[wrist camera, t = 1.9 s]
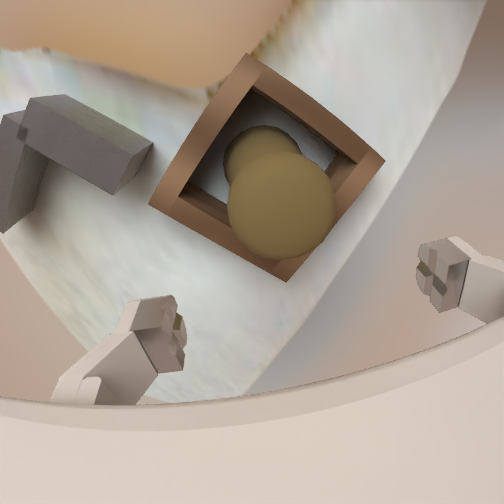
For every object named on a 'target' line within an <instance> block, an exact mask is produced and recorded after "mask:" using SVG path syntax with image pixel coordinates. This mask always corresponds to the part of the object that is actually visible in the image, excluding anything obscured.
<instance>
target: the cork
mask: <svg viewBox="0 0 504 504" xmlns="http://www.w3.org/2000/svg"><path fill="white" fill-rule="evenodd" d="M223 166H224V172H225V176H226V178H227V181H228V183H229V185H230V191H229V197H228V202H227V211H228V217H229V222H230V225H231V227H232V229H233V230H234V232H235V234H236V236H237V238H238V239H239V240H240V242H241V243H243V244H244V245H245V246H246V247H247V248H248V249H249V250H250V251H252V252H254V253H256V254H258V255H260V256H263V257H265V258H271V259H278V260H285V259H291V258H298V257H300V256H302V255H304V254H307V253H309V252H311V251H312V250H313V249H314V248H316V247H317V246H318V245H319V244H321V243H322V242H323V241H324V239H325V238H326V236H327V235H328V233H329V232H330V230H331V229H332V226H333V223H334V220H335V217H336V195H335V192H334V189H333V186H332V184H331V181H330V179H329V177H328V176H327V175H326V174H325V173H324V171H323V170H322V169H321V168H320V167H319V166H318V165H317V164H316V163H314V162H312V161H311V160H309V159H307V158H306V157H304V156H302V154H301V152H300V149H299V147H298V145H297V143H296V142H295V141H294V139H293V138H292V137H291V136H290V135H289V134H288V133H286V132H284V131H282V130H281V129H279V128H276V127H271V126H266V125H263V126H255V127H251V128H249V129H246V130H244V131H242V132H240V133H239V134H238V135H237V136H236V137H235V138H234V139H233V140H232V141H231V142H230V144H229V146H228V148H227V150H226V152H225V157H224V162H223Z"/></svg>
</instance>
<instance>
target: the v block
mask: <svg viewBox="0 0 504 504" xmlns="http://www.w3.org/2000/svg"><path fill="white" fill-rule="evenodd" d="M152 143H153V142H151V141H149V140H147V139H146V138H144V137H142V136H140V135H139V134H137V133H135V132H133V131H132V130H130V129H128V128H126V127H124V126H123V125H121V124H119V123H117V122H115V121H114V120H112V119H110V118H108V117H106V116H104V115H103V114H101V113H99V112H97V111H95V110H93V109H91V108H90V107H88V106H86V105H84V104H82V103H80V102H78V101H76V100H74V99H73V98H71V97H69V96H67V95H65V94H64V95H53V96H43V97H35V98H30V100H29V102H28V105H27V107H26V110H24V111H19V112H14V113H9V114H5V115H3V118H2V121H1V124H0V232H2V233H5V232H6V231H7V230H8V229H9V228H11V227H12V226H13V225H14V224H16V223H17V222H18V221H19V220H21V219H22V218H23V217H24V216H26V215H27V214H28V213H30V212H31V211H32V210H33V207H34V204H35V200H36V197H37V193H38V190H39V186H40V183H41V180H42V177H43V174H44V171H45V168H46V165H47V162H48V159H49V158H50V159H52V160H54V161H55V162H57V163H59V164H60V165H62V166H64V167H65V168H67V169H69V170H70V171H72V172H74V173H75V174H77V175H79V176H80V177H82V178H84V179H85V180H87V181H89V182H91V183H92V184H94V185H96V186H97V187H99V188H101V189H103V190H104V191H106V192H108V193H109V194H111V195H114V194H115V193H116V192H117V191H119V190H120V189H121V188H122V187H123V186H124V185H125V184H126V183H127V182H128V181H129V180H130V179H132V178H133V177H134V176H135V175H136V173H137V171H138V169H139V167H140V165H141V163H142V161H143V160H144V158H145V156H146V154H147V152H148V151H149V149H150V147H151V145H152Z"/></svg>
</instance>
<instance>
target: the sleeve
mask: <svg viewBox="0 0 504 504" xmlns="http://www.w3.org/2000/svg"><path fill="white" fill-rule="evenodd" d="M250 88H251V89H252V90H254V91H255V92H257V93H258V94H260V95H261V96H263V97H264V98H266V99H267V100H269V101H270V102H272V103H273V104H275V105H276V106H277V107H279V108H280V109H282V110H283V111H285V112H286V113H287V114H289V115H290V116H292V117H293V118H294V119H296V120H297V121H299V122H300V123H301V124H303V125H304V126H305V127H307V128H308V129H309V130H311V131H312V132H313V133H315V134H316V135H317V136H318V137H320V138H321V139H322V140H324V141H325V142H326V143H327V144H329V145H330V146H331V147H332V148H334V149H335V150H336V151H337V152H339V153H338V155H337V156H336V157H335V158H334V160H333V161H332V162H331V164H330V165H329V166H328V167H327V169H326V170H325V171H324V173H325V174H326V175H327V176H328V177H329V179H330V181H331V184H332V186H333V189H334V192H335V195H336V217H335V220H334V223H333V226H334V225H335V224H336V223H337V222H338V220H339V219H340V218H341V217H342V215H343V214H344V213H345V212H346V211H347V209H348V208H349V207H350V206H351V204H352V203H353V202H354V201H355V199H356V198H357V197H358V196H359V194H360V193H361V192H362V191H363V189H364V188H365V187H366V185H367V184H368V183H369V182H370V180H371V179H372V178H373V177H374V175H375V174H376V173H377V171H378V170H379V169H380V168H381V166H382V165H383V164H384V162H385V160H384V159H383V158H382V157H381V156H380V155H379V154H378V153H377V152H376V151H375V150H374V149H373V148H371V147H370V146H369V145H368V144H367V143H366V142H365V141H364V140H363V139H361V138H360V137H359V136H358V135H357V134H356V133H355V132H353V131H352V130H351V129H350V128H349V127H348V126H346V125H345V124H344V123H343V122H342V121H340V120H339V119H338V118H337V117H336V116H334V115H333V114H332V113H331V112H329V111H328V110H327V109H326V108H324V107H323V106H322V105H321V104H319V103H318V102H317V101H315V100H314V99H313V98H311V97H310V96H309V95H307V94H306V93H305V92H303V91H302V90H301V89H299V88H298V87H297V86H295V85H294V84H292V83H291V82H290V81H288V80H287V79H285V78H284V77H282V76H281V75H279V74H278V73H277V72H275V71H274V70H272V69H271V68H269V67H268V66H266V65H264V64H263V63H261V62H260V61H258V60H257V59H255V58H254V57H252V56H250V55H249V54H247V53H246V54H245V55H244V56H243V57H242V59H241V60H240V61H239V63H238V64H237V65H236V67H235V68H234V69H233V71H232V72H231V73H230V75H229V76H228V77H227V79H226V80H225V82H224V83H223V84H222V86H221V87H220V89H219V90H218V91H217V93H216V94H215V96H214V97H213V98H212V100H211V101H210V103H209V104H208V106H207V107H206V109H205V110H204V112H203V113H202V115H201V116H200V118H199V119H198V121H197V122H196V124H195V125H194V127H193V128H192V130H191V131H190V133H189V135H188V136H187V138H186V139H185V141H184V143H183V144H182V146H181V147H180V149H179V151H178V152H177V154H176V156H175V157H174V159H173V161H172V162H171V164H170V166H169V167H168V169H167V171H166V172H165V174H164V176H163V178H162V179H161V181H160V183H159V185H158V186H157V188H156V190H155V192H154V194H153V195H152V197H151V199H150V201H149V203H148V204H149V205H150V206H152V207H154V208H156V209H157V210H159V211H161V212H163V213H164V214H166V215H168V216H170V217H171V218H173V219H175V220H177V221H178V222H180V223H182V224H184V225H185V226H187V227H189V228H191V229H192V230H194V231H196V232H198V233H199V234H201V235H203V236H205V237H206V238H208V239H210V240H212V241H213V242H215V243H217V244H219V245H220V246H222V247H224V248H226V249H228V250H229V251H231V252H233V253H235V254H236V255H238V256H240V257H242V258H243V259H245V260H247V261H249V262H251V263H252V264H254V265H256V266H258V267H259V268H261V269H263V270H265V271H267V272H268V273H270V274H272V275H274V276H275V277H277V278H279V279H281V280H283V281H284V282H287V281H288V280H289V279H290V277H291V276H292V275H293V274H294V273H295V272H296V271H297V269H298V268H299V267H300V266H301V265H302V264H303V262H304V261H305V260H306V259H307V258H308V256H309V255H310V254H311V253H312V252H313V251H314V249H315V248H314V249H313V250H312V251H311V252H309V253H307V254H304V255H302V256H300V257H298V258H291V259H285V260H278V259H271V258H265V257H263V256H260V255H258V254H256V253H254V252H252V251H250V250H249V249H248V248H247V247H246V246H245V245H244V244H243V243H241V242H240V240H239V239H238V238H237V236H236V234H235V232H234V230H233V229H232V227H231V225H230V222H229V217H228V211H227V204H225V203H223V202H222V201H220V200H218V199H217V198H215V197H213V196H212V195H210V194H208V193H207V192H205V191H203V190H202V189H200V188H198V187H196V186H195V185H193V184H191V183H190V182H188V179H189V177H190V176H191V174H192V173H193V171H194V170H195V168H196V166H197V165H198V163H199V162H200V160H201V159H202V157H203V155H204V154H205V152H206V151H207V149H208V148H209V146H210V145H211V143H212V142H213V140H214V139H215V137H216V136H217V134H218V133H219V131H220V130H221V129H222V127H223V126H224V124H225V123H226V121H227V120H228V118H229V117H230V116H231V114H232V113H233V111H234V110H235V108H236V107H237V106H238V104H239V103H240V101H241V100H242V99H243V97H244V96H245V95H246V93H247V92H248V91H249V89H250ZM333 226H332V228H333Z"/></svg>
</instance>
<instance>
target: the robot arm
mask: <svg viewBox="0 0 504 504" xmlns="http://www.w3.org/2000/svg"><path fill="white" fill-rule="evenodd" d="M418 257H419V259H420V260H421V262H420V263H419V265H418V266H417V269H416V279H417V284H418V286H419V288H420V290H421V291H422V292H423V293H424V294H426V295H429V296H430V302H431V303H432V305H433V306H434V307H435V308H436V309H437V311H438V312H439V313H440V312H443V311H447V310H450V309H452V308H456V307H459V308H460V309H462V310H464V311H465V312H467V313H469V314H471V315H473V316H474V317H476V318H478V319H480V320H481V321H483V322H485V323H487V324H486V325H484V326H482V327H480V328H478V329H476V330H473V331H471V332H469V333H466V334H464V335H462V336H459V337H457V338H454V339H452V340H449V341H447V342H444V343H442V344H439V345H437V346H434V347H432V348H429V349H426V350H424V351H421V352H418V353H415V354H412V355H409V356H406V357H403V358H400V359H397V360H394V361H391V362H388V363H385V364H382V365H378V366H375V367H371V368H368V369H365V370H361V371H358V372H354V373H350V374H347V375H343V376H339V377H335V378H331V379H327V380H323V381H318V382H314V383H309V384H305V385H300V386H295V387H290V388H285V389H280V390H275V391H269V392H263V393H257V394H251V395H244V396H237V397H230V398H222V399H213V400H204V401H194V402H182V403H167V404H147V405H136V403H137V402H138V400H139V399H140V398H141V396H142V395H143V394H144V393H145V391H146V390H147V389H148V387H149V386H150V385H151V384H152V382H153V381H154V380H155V378H156V377H157V376H158V373H167V372H175V371H182V370H183V366H184V358H185V354H184V352H183V348H184V346H185V345H186V343H187V332H186V327H185V323H184V320H183V318H182V316H181V315H179V314H178V313H176V312H177V306H178V305H177V303H176V301H175V298H174V297H173V296H172V295H167V296H160V297H153V298H146V299H139V300H134V301H129V302H127V304H126V306H125V308H124V311H123V313H122V315H121V318H120V320H119V323H118V325H117V327H116V330H115V332H114V333H113V334H109V335H108V336H107V337H106V338H105V339H103V340H102V341H101V342H100V343H99V344H97V345H96V346H95V347H94V348H93V349H92V350H90V351H89V352H88V353H87V354H86V355H85V356H83V357H82V358H81V359H80V360H79V361H78V362H76V363H75V364H74V365H73V366H72V367H71V368H69V369H68V370H67V371H66V372H65V373H64V374H62V375H61V377H60V379H59V381H58V383H57V386H56V388H55V390H54V393H53V395H52V398H51V400H50V402H41V401H32V400H23V399H16V398H9V397H2V396H0V504H504V260H500V259H497V258H494V257H491V256H487V255H484V256H482V255H481V254H480V253H479V252H477V251H476V250H475V249H474V248H472V247H471V246H470V245H468V244H467V243H466V242H465V241H463V240H462V239H460V238H459V237H458V236H451V237H447V238H444V239H441V240H437V241H433V242H430V243H426V244H422V245H420V247H419V251H418Z"/></svg>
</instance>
